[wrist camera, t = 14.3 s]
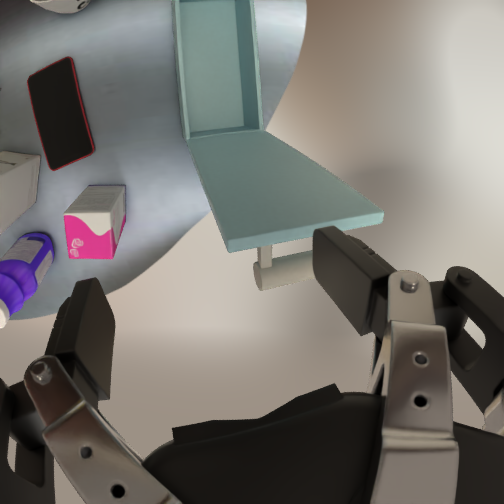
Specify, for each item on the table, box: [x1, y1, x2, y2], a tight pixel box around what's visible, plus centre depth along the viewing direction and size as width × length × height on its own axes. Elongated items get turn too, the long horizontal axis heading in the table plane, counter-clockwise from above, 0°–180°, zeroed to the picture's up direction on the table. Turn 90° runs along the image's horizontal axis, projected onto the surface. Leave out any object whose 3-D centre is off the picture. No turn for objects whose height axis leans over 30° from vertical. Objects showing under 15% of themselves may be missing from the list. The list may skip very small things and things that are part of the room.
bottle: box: [0, 233, 54, 328], centre depth 30 cm, size 7×6×17 cm
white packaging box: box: [0, 151, 41, 235], centre depth 26 cm, size 7×7×13 cm
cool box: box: [172, 0, 264, 142], centre depth 30 cm, size 20×9×8 cm, turn 4°
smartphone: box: [27, 57, 94, 171], centre depth 30 cm, size 7×1×15 cm
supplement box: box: [64, 185, 126, 259], centre depth 33 cm, size 6×6×12 cm
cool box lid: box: [187, 131, 384, 291], centre depth 24 cm, size 21×9×5 cm
